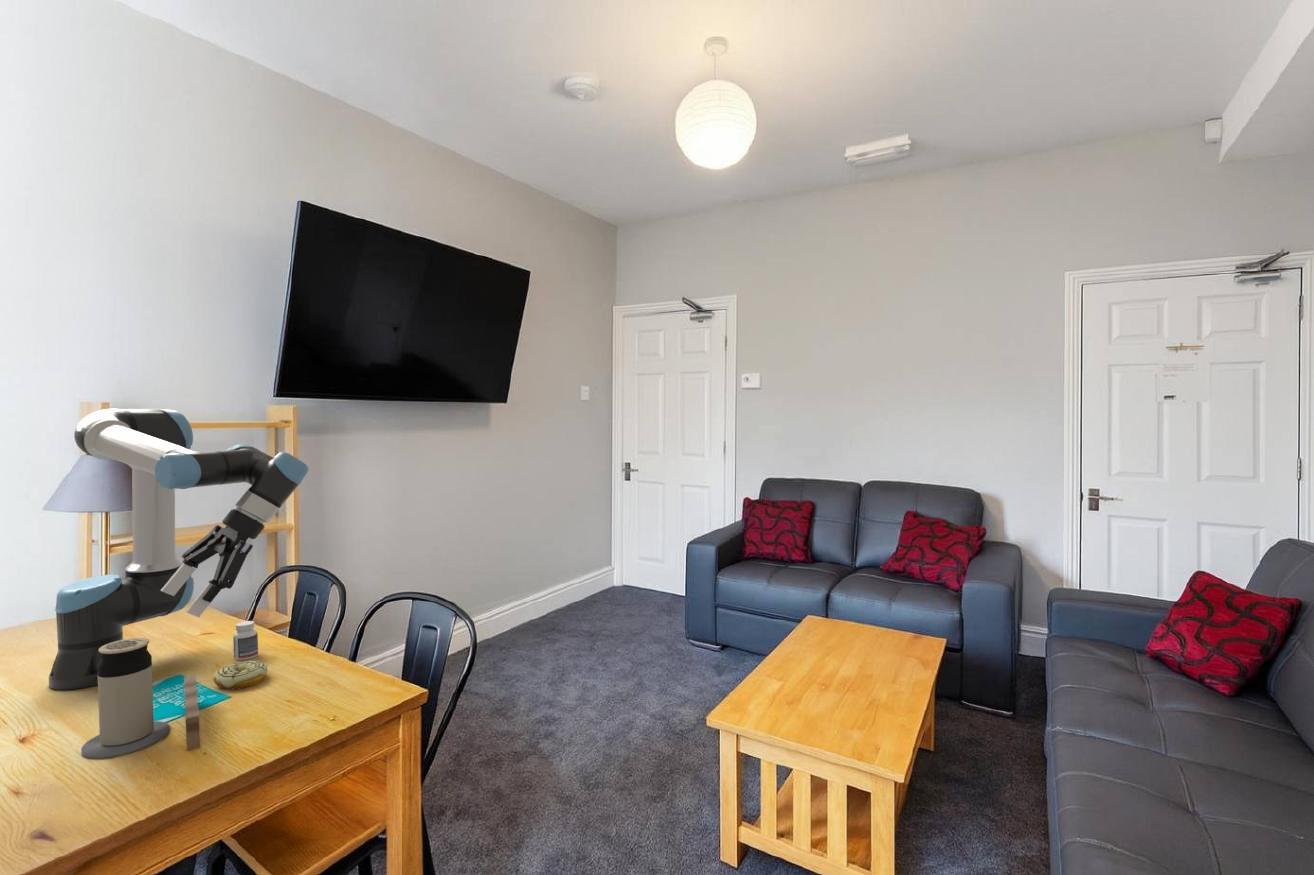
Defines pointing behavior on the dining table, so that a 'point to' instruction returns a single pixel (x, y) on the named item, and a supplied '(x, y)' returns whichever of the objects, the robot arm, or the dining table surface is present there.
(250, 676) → the decorated donut
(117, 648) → the travel mug
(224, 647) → the dining table surface
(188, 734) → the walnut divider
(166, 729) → the grey oval pebble
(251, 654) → the pill bottle
